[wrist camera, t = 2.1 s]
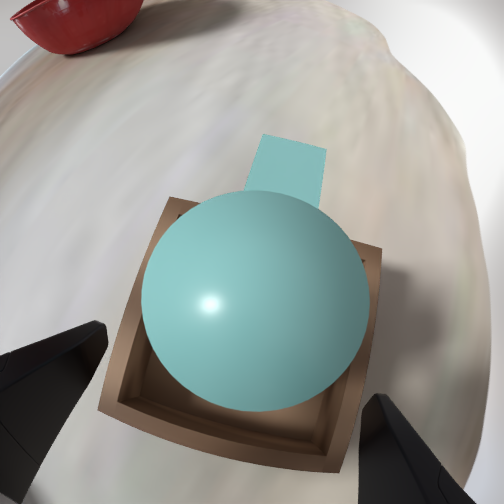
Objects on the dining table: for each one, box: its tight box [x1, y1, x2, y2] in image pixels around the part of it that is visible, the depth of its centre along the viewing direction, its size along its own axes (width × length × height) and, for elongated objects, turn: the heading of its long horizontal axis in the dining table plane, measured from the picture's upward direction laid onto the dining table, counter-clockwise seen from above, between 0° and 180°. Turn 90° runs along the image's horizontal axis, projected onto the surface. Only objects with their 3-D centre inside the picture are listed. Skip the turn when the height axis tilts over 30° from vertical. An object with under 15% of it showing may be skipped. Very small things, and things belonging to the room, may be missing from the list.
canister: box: [141, 134, 370, 412], centre depth 12 cm, size 7×5×12 cm
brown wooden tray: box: [98, 197, 382, 473], centre depth 16 cm, size 13×13×4 cm
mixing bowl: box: [10, 0, 144, 55], centre depth 29 cm, size 28×28×15 cm
